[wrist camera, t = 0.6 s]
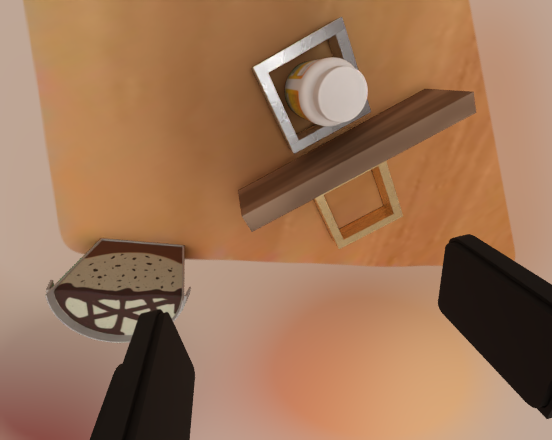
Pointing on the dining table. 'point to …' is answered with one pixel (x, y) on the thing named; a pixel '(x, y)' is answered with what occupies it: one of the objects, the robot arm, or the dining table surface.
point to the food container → (119, 288)
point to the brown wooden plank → (353, 153)
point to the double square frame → (316, 132)
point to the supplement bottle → (326, 91)
